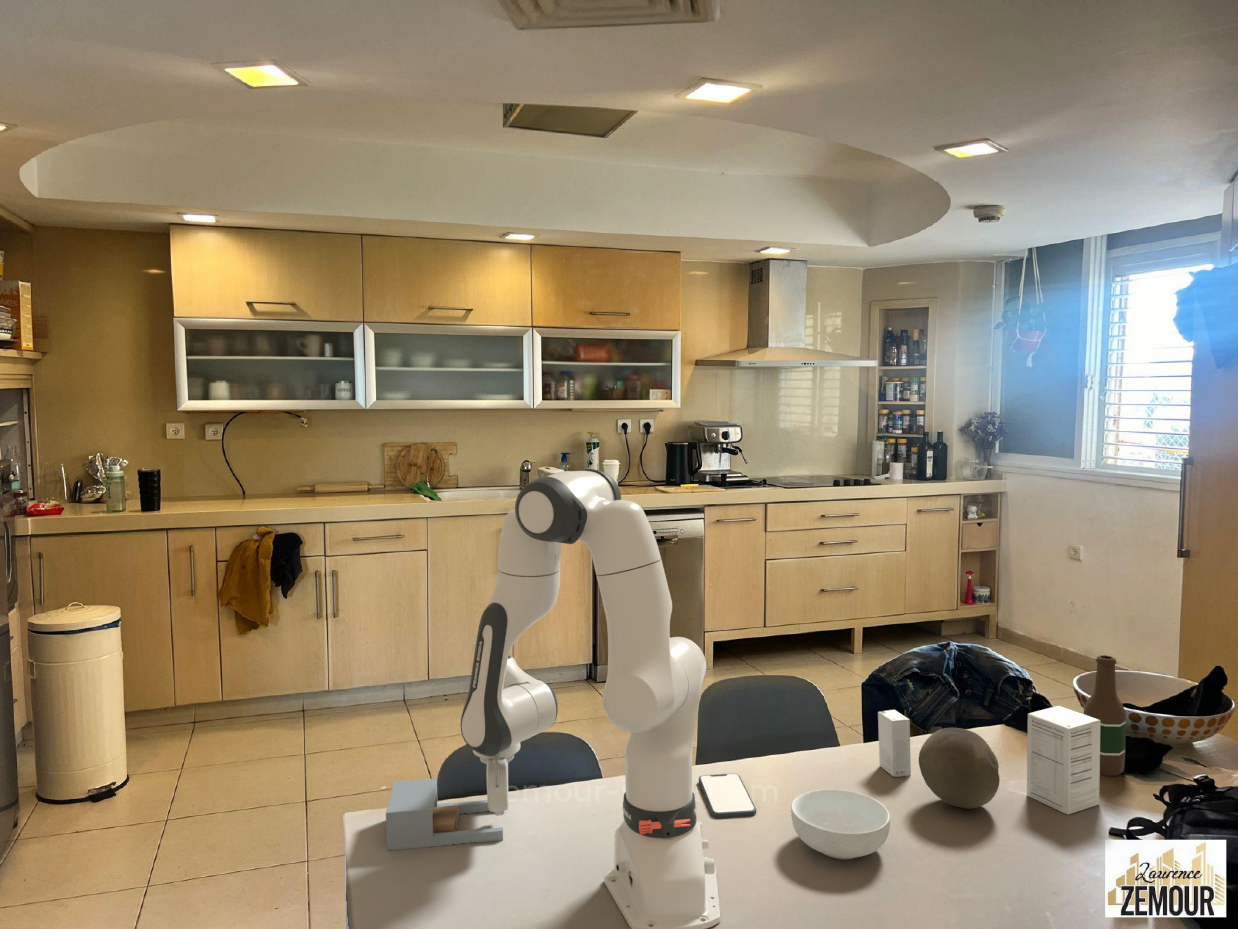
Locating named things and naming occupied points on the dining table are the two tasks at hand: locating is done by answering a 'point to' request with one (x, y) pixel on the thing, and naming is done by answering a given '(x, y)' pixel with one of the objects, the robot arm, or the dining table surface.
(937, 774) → the cantaloupe
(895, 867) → the dining table surface
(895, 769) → the skincare box
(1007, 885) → the dining table surface
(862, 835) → the cereal bowl
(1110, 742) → the beer bottle
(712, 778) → the smartphone
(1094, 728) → the supplement box
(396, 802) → the grey u-shaped frame
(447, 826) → the tan cardboard slab
